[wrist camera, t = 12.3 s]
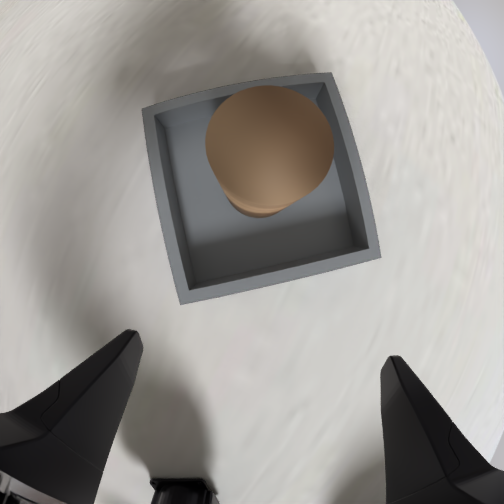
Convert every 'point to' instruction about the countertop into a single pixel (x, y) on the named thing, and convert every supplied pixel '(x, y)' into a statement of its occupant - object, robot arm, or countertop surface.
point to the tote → (247, 228)
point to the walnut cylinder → (268, 148)
